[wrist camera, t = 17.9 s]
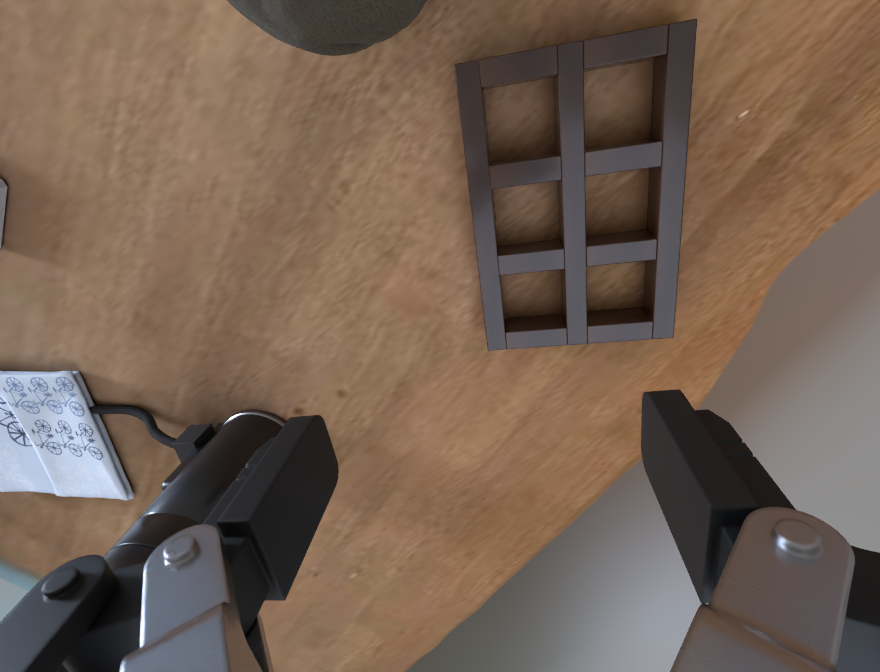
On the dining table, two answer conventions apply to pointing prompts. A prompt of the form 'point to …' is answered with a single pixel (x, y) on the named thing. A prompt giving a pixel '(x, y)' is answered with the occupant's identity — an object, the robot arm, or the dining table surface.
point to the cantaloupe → (330, 21)
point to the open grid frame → (583, 187)
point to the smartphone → (2, 206)
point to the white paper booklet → (55, 438)
